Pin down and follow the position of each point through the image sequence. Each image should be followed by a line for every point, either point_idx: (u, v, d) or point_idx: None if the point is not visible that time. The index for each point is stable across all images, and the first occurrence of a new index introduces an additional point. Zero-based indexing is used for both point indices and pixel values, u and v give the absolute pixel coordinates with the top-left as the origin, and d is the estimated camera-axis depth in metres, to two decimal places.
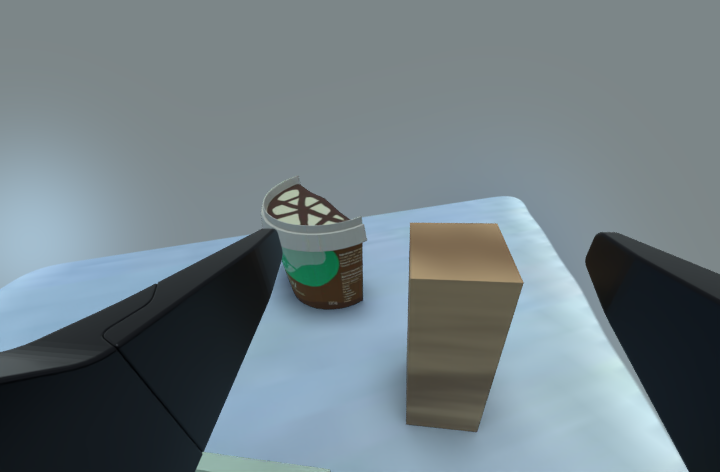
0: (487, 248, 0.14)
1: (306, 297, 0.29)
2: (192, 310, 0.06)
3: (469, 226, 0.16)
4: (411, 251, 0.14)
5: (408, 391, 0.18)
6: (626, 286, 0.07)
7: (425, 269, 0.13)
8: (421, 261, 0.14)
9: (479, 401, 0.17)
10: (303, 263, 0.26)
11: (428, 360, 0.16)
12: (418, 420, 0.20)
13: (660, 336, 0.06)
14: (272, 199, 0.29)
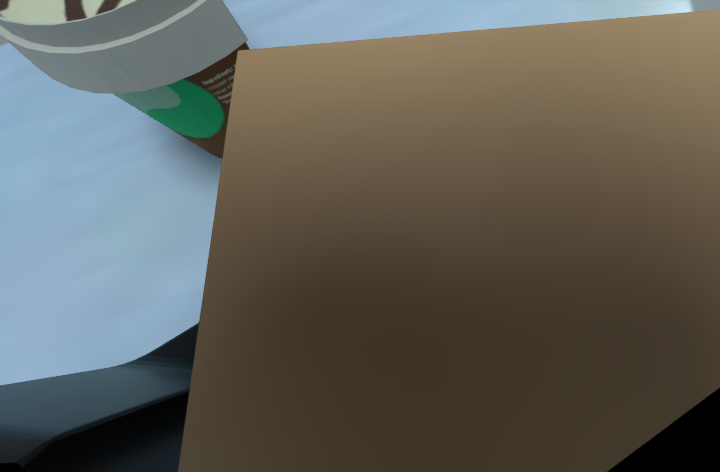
0: (656, 280, 0.02)
1: (205, 148, 0.17)
2: None
3: (561, 54, 0.03)
4: (206, 306, 0.03)
5: None
6: None
7: None
8: (246, 398, 0.02)
9: None
10: (145, 106, 0.12)
11: None
12: None
13: None
14: None
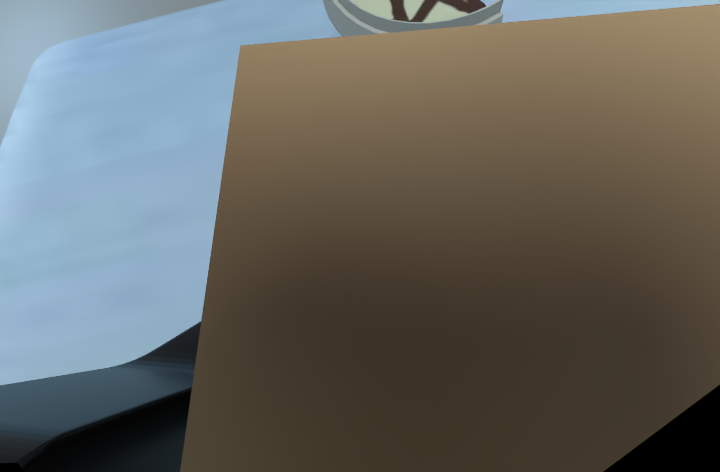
0: (659, 274, 0.02)
1: None
2: None
3: (562, 49, 0.03)
4: (209, 299, 0.03)
5: None
6: None
7: (255, 470, 0.02)
8: (251, 390, 0.02)
9: None
10: None
11: None
12: None
13: None
14: None
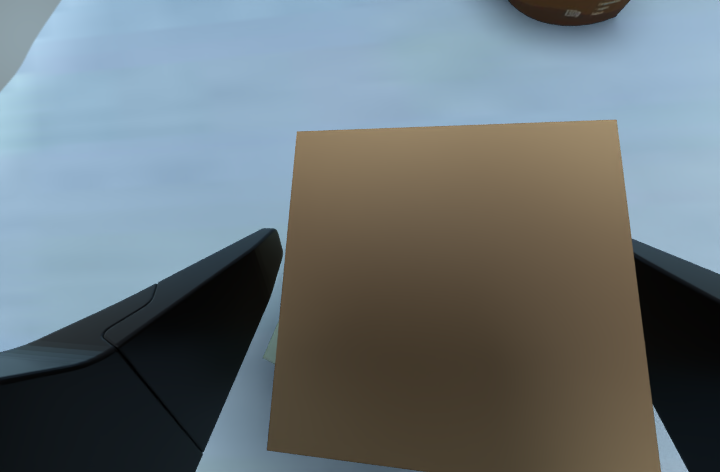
0: (553, 285, 0.04)
1: None
2: (192, 310, 0.06)
3: (503, 145, 0.04)
4: (284, 300, 0.04)
5: None
6: None
7: (317, 401, 0.04)
8: (313, 354, 0.04)
9: None
10: None
11: None
12: None
13: (661, 336, 0.06)
14: None
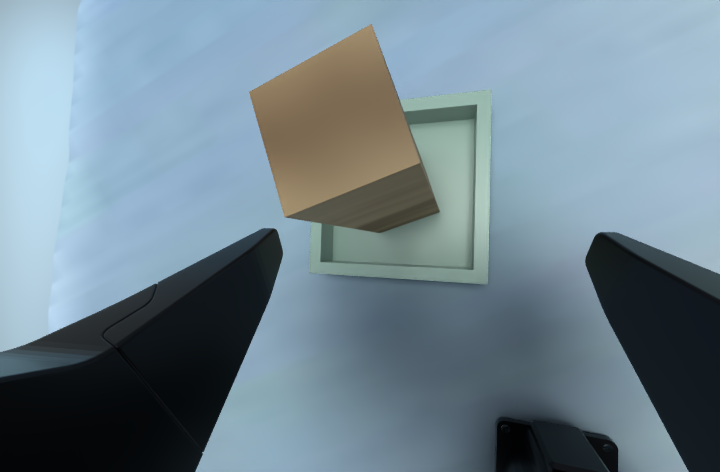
0: (365, 105, 0.09)
1: None
2: (192, 310, 0.06)
3: (331, 56, 0.09)
4: (270, 161, 0.10)
5: (365, 230, 0.18)
6: (626, 286, 0.07)
7: (296, 191, 0.10)
8: (288, 176, 0.10)
9: (431, 207, 0.17)
10: None
11: (365, 220, 0.15)
12: (387, 229, 0.21)
13: (660, 335, 0.06)
14: None
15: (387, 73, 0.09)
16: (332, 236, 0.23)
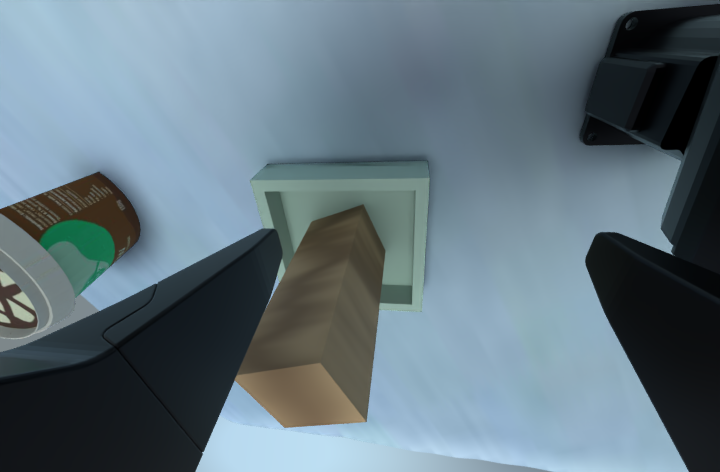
0: (284, 383, 0.13)
1: (130, 232, 0.27)
2: (192, 310, 0.06)
3: (255, 393, 0.14)
4: (329, 424, 0.14)
5: (381, 285, 0.21)
6: (626, 286, 0.07)
7: (347, 415, 0.14)
8: (338, 418, 0.14)
9: (358, 236, 0.19)
10: (83, 259, 0.22)
11: (370, 310, 0.18)
12: (381, 248, 0.23)
13: (660, 336, 0.06)
14: (15, 327, 0.23)
15: (261, 372, 0.13)
16: (389, 285, 0.26)
